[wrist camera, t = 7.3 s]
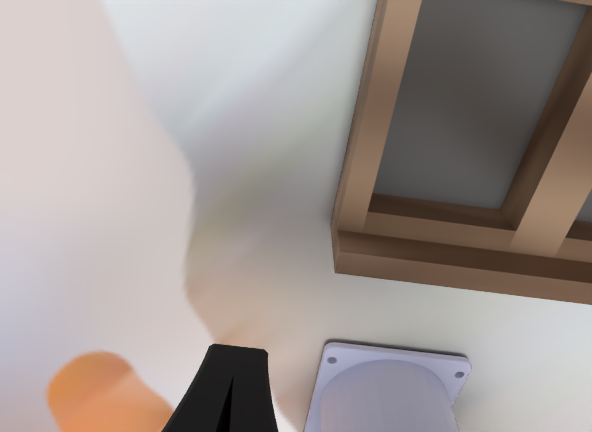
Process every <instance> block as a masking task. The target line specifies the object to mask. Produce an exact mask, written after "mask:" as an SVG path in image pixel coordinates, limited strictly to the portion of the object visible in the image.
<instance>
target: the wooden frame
mask: <svg viewBox="0 0 592 432" xmlns="http://www.w3.org/2000/svg"><path fill="white" fill-rule="evenodd" d="M330 225H331V236H332V247H333V259H334V270H335V273H340V274H348V275H356V276H364V277H372V278H380V279H388V280H396V281H404V282H412V283H420V284H428V285H436V286H444V287H452V288H460V289H469V290H477V291H485V292H493V293H501V294H509V295H517V296H525V297H533V298H541V299H549V300H557V301H565V302H573V303H581V304H589V305H592V0H378V1H377V6H376V11H375V16H374V20H373V25H372V30H371V35H370V39H369V44H368V49H367V54H366V58H365V63H364V68H363V73H362V77H361V82H360V87H359V92H358V96H357V101H356V106H355V111H354V115H353V120H352V125H351V130H350V134H349V139H348V144H347V149H346V153H345V158H344V163H343V167H342V172H341V177H340V182H339V186H338V191H337V196H336V201H335V205H334V210H333V215H332V220H331V224H330Z"/></svg>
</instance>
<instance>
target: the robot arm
mask: <svg viewBox="0 0 592 432" xmlns="http://www.w3.org/2000/svg"><path fill="white" fill-rule="evenodd" d="M330 357H334V358H330ZM471 368H472V366H471V363H470V361H469V359H467V358H465V357H459V356H450V355H441V354H433V353H424V352H416V351H407V350H398V349H390V348H381V347H372V346H364V345H355V344H346V343H338V342H331V343H328V344H327V345H325V347H324V351H323V355H322V359H321V363H320V367H319V371H318V375H317V379H316V383H315V388H314V392H313V396H312V400H311V404H310V408H309V412H308V416H307V420H306V424H305V429H304V432H459V429H458V426H457V423H456V420H455V417H454V414H453V410H452V406H453V404H454V402H455V400H456V398H457V396H458V394H459V392H460V390H461V388H462V386H463V384H464V382H465V380H466V378H467V376H468V374H469V372H470V370H471ZM161 432H278V428H277V424H276V419H275V414H274V409H273V404H272V397H271V391H270V384H269V374H268V353H267V352H266V351H265V350H264V349H257V348H248V347H239V346H230V345H222V344H213V345H211V346H209V348H208V351H207V353H206V355H205V358H204V360H203V362H202V364H201V366H200V368H199V370H198V372H197V374H196V376H195V378H194V380H193V381H192V383H191V385H190V387H189V388H188V390H187V392H186V394H185V395H184V397H183V399H182V400H181V402H180V403H179V405H178V406H177V408H176V410H175V411H174V413H173V415H172V416H171V418H170V419H169V421H168V422H167V424H166V426H165V427H164V429H163V430H162V431H161Z"/></svg>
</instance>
